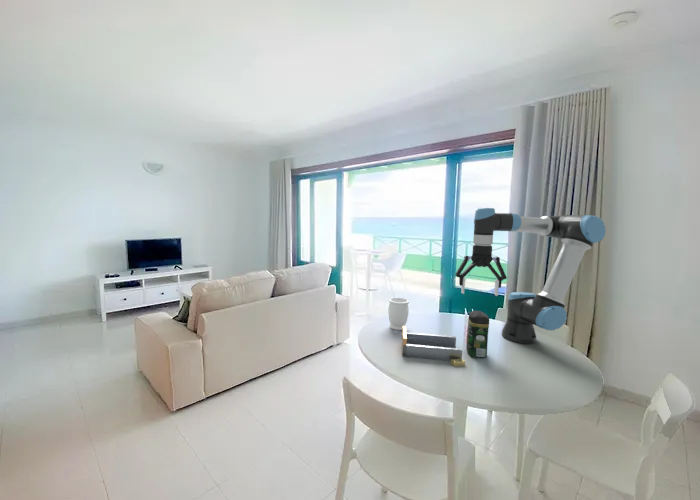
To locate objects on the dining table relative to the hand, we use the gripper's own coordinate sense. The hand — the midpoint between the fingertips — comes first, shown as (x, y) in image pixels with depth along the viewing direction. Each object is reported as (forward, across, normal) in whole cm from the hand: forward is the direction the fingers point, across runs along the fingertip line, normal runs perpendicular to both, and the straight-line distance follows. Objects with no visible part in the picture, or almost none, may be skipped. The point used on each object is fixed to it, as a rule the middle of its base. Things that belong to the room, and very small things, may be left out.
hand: (479, 294), depth 132 cm
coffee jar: (+27, 0, 0) cm, 27 cm away
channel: (+26, +20, +3) cm, 33 cm away
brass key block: (+27, +10, +12) cm, 31 cm away
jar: (+27, +34, -24) cm, 49 cm away
